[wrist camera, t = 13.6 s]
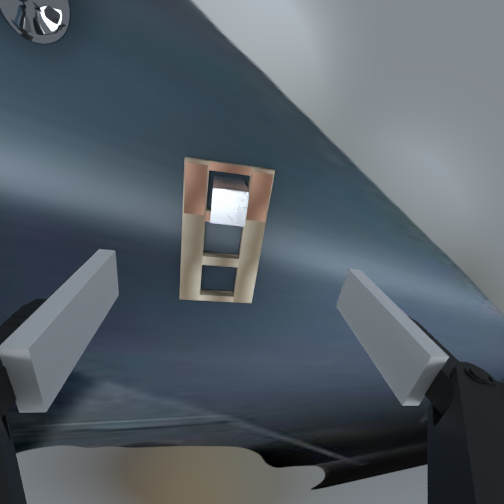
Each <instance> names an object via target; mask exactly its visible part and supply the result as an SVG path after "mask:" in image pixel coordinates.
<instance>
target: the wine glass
mask: <svg viewBox="0 0 504 504" xmlns="http://www.w3.org/2000/svg"><path fill="white" fill-rule="evenodd" d="M0 13H1V15H2V16H3V18H4V19H5V21H6V22H7V23H8V24H9V25H10V26H11V28H12V29H14V30H15V31H16V32H17V33H18V34H20V35H21V36H23V37H24V38H26V39H28V40H30V41H32V42H35V43H40V44H50V43H54V42H56V41H58V40H60V39H61V38H62V37H63V36H64V34H65V33H66V31H67V29H68V26H69V22H70V6H69V1H68V0H0Z"/></svg>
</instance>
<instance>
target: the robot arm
mask: <svg viewBox="0 0 504 504" xmlns="http://www.w3.org/2000/svg"><path fill="white" fill-rule="evenodd" d="M118 295H119V290H118V277H117V265H116V253H115V250H104V249H99V250H98V251H97V252H96V253H95V254H94V255H93V256H92V257H91V258H90V259H89V260H88V261H87V262H85V263H84V264H83V265H82V266H81V267H80V268H79V269H78V270H77V271H76V272H75V273H74V274H73V275H72V276H71V277H70V278H69V279H68V280H67V281H66V282H65V283H64V284H63V285H62V286H61V287H60V288H59V289H58V290H57V291H56V292H55V293H54V294H53V295H52V296H50V297H49V298H48V299H36V300H34V301H32V302H30V303H28V304H26V305H24V306H22V307H21V308H20V309H19V310H18V311H16V312H15V313H14V314H13V315H12V316H11V318H9V319H7V320H6V321H5V322H4V323H3V324H2V326H0V504H27V503H26V499H25V494H24V490H23V485H22V480H21V476H20V471H19V467H18V462H17V458H16V453H15V448H14V444H13V439H12V435H11V430H10V426H9V421H8V418H7V415H6V412H7V411H8V410H9V408H10V407H11V406H12V405H13V403H14V402H15V401H16V404H17V407H18V409H19V412H20V413H24V412H47V410H48V409H49V407H50V405H51V404H52V402H53V400H54V399H55V397H56V396H57V394H58V392H59V391H60V389H61V388H62V386H63V384H64V383H65V381H66V379H67V378H68V376H69V375H70V373H71V371H72V370H73V368H74V367H75V365H76V363H77V362H78V360H79V358H80V357H81V355H82V354H83V352H84V350H85V349H86V347H87V346H88V344H89V342H90V341H91V339H92V337H93V336H94V334H95V333H96V331H97V329H98V328H99V326H100V325H101V323H102V321H103V320H104V318H105V316H106V315H107V313H108V312H109V310H110V308H111V307H112V305H113V304H114V302H115V300H116V299H117V297H118ZM336 307H337V309H338V310H339V312H340V313H341V315H342V316H343V318H344V319H345V321H346V322H347V324H348V325H349V327H350V328H351V330H352V331H353V333H354V334H355V336H356V337H357V339H358V340H359V342H360V343H361V345H362V346H363V348H364V349H365V351H366V352H367V354H368V355H369V357H370V358H371V360H372V361H373V363H374V364H375V366H376V367H377V369H378V370H379V372H380V373H381V374H382V376H383V377H384V379H385V380H386V382H387V383H388V385H389V386H390V388H391V389H392V391H393V392H394V394H395V395H396V397H397V398H398V400H399V401H400V403H401V404H402V406H414V405H419V404H420V402H421V401H422V399H423V398H424V396H425V395H426V397H427V398H428V399H429V401H430V402H431V404H430V405H429V407H428V408H427V410H426V411H425V413H424V414H423V416H422V417H421V419H420V422H421V423H423V422H424V421H425V420H426V419H428V425H427V426H428V504H504V383H500V382H497V381H496V380H495V379H494V378H493V377H492V376H491V375H490V374H488V373H487V372H485V371H484V370H483V369H481V368H479V367H477V366H475V365H473V364H470V363H467V362H459V361H458V360H457V359H456V358H455V357H454V356H453V355H452V354H451V353H450V352H449V351H448V350H447V349H446V348H444V347H443V346H442V345H441V344H440V343H439V342H438V341H437V340H436V339H434V337H433V336H432V335H431V334H430V333H429V332H427V330H426V329H425V328H424V327H423V326H421V325H420V324H419V323H418V322H417V321H415V320H413V319H412V318H410V317H409V316H407V315H406V314H405V313H404V312H403V311H402V310H401V309H400V308H399V307H398V306H397V305H396V304H395V303H394V302H393V301H392V300H391V299H390V298H388V297H387V296H386V295H385V294H384V293H383V292H382V291H381V290H380V289H379V288H378V287H377V286H376V285H375V284H374V283H373V282H372V281H371V280H370V279H369V278H368V277H367V276H366V275H365V274H364V273H363V272H362V271H361V270H354V269H349V270H348V273H347V276H346V279H345V281H344V284H343V287H342V290H341V293H340V296H339V299H338V302H337V305H336Z"/></svg>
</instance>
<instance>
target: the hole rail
mask: <svg viewBox="0 0 504 504" xmlns="http://www.w3.org/2000/svg"><path fill="white" fill-rule="evenodd" d="M209 170H212V171H219V172H226V173H234V174H241V175H248V176H249V181H248V191H249V199H248V206H247V213H246V220H245V227H243V226H242V232H241V239H240V246H239V253H238V255H237V254H225V253H213V252H203V249H204V235H205V222H206V221H208V222H210V217H211V208H207V196H208V183H209ZM274 174H275V170H273V169H268V168H261V167H254V166H247V165H240V164H233V163H226V162H219V161H212V160H205V159H198V158H191V157H185V160H184V188H183V215H182V242H181V270H180V297H179V299H183V300H202V301H220V302H239V303H252V297H253V292H254V286H255V281H256V275H257V269H258V264H259V258H260V252H261V247H262V241H263V236H264V230H265V224H266V219H267V213H268V207H269V202H270V196H271V191H272V185H273V179H274ZM202 265H212V266H225V267H237V268H236V275H235V282H234V289H233V291H218V290H202V289H200V288H201V275H202Z"/></svg>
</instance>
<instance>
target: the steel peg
mask: <svg viewBox="0 0 504 504" xmlns="http://www.w3.org/2000/svg"><path fill="white" fill-rule="evenodd" d="M248 199H249V191H248V189H247V186H246V184H245V182H244V180H243V179H239V178H231V177H224V176H216V175H215V176H214V184H213V193H212V205H211V217H210V223H214V224H224V225H233V226H243V227H245V220H246V213H247V206H248Z"/></svg>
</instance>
